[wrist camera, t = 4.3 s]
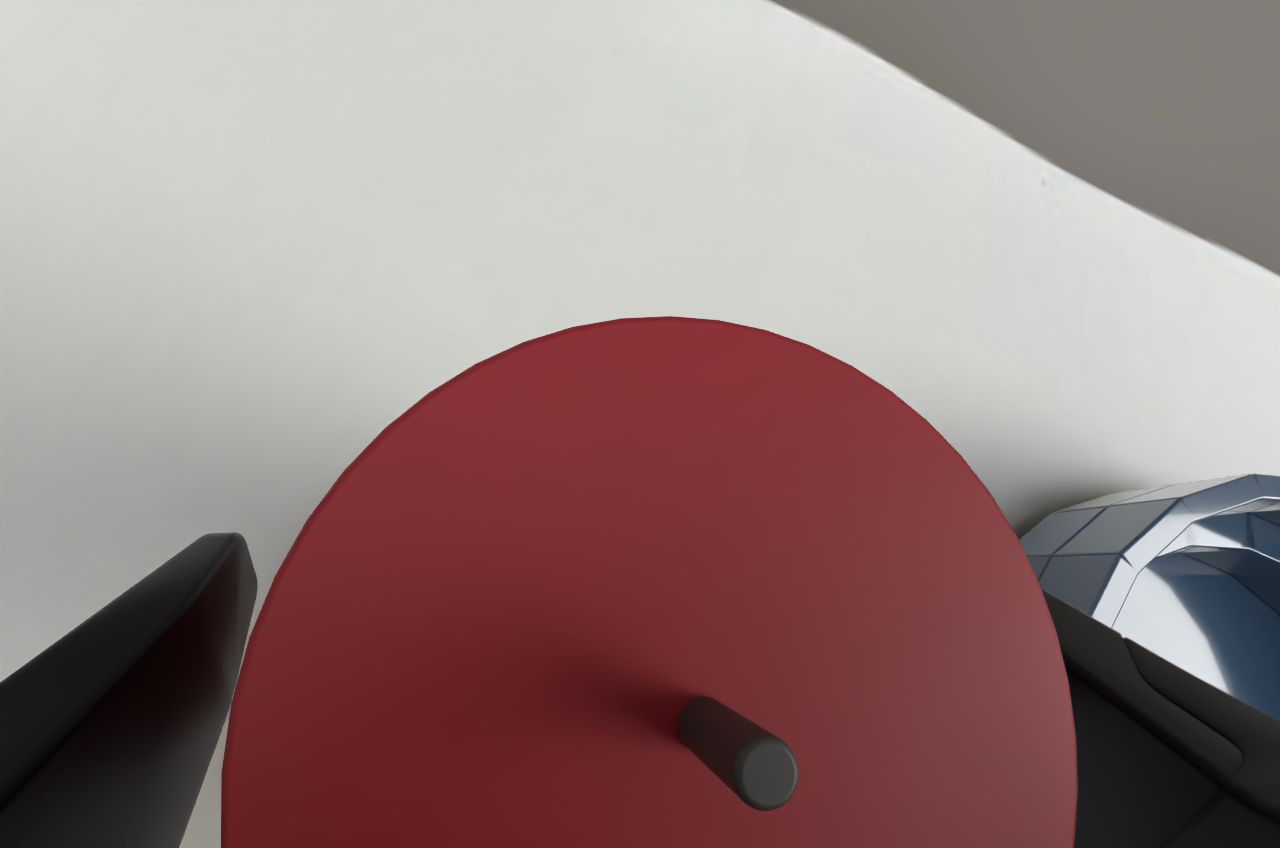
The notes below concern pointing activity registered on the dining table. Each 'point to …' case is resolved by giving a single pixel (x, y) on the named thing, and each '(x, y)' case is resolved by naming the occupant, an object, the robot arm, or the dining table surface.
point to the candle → (654, 620)
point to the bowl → (1178, 575)
